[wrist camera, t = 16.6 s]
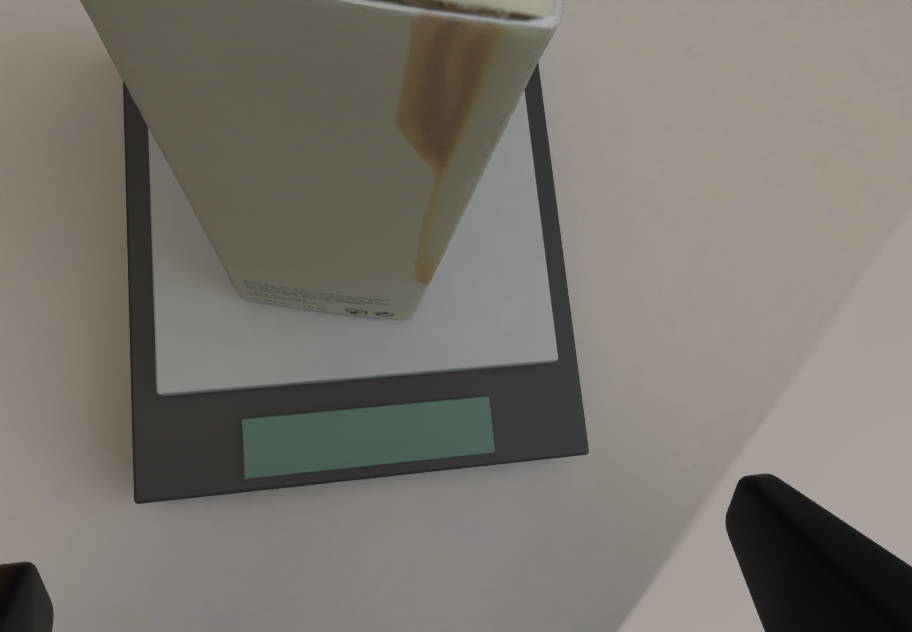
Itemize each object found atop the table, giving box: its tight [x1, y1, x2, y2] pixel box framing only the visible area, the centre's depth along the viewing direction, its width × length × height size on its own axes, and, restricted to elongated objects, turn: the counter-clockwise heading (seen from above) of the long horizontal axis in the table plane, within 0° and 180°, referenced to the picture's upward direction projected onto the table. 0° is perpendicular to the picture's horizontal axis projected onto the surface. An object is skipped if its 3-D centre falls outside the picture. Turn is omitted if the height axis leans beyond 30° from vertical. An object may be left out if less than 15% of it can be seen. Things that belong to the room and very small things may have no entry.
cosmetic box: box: [80, 0, 564, 320], centre depth 12 cm, size 6×4×12 cm
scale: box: [123, 63, 589, 504], centre depth 20 cm, size 12×11×3 cm
